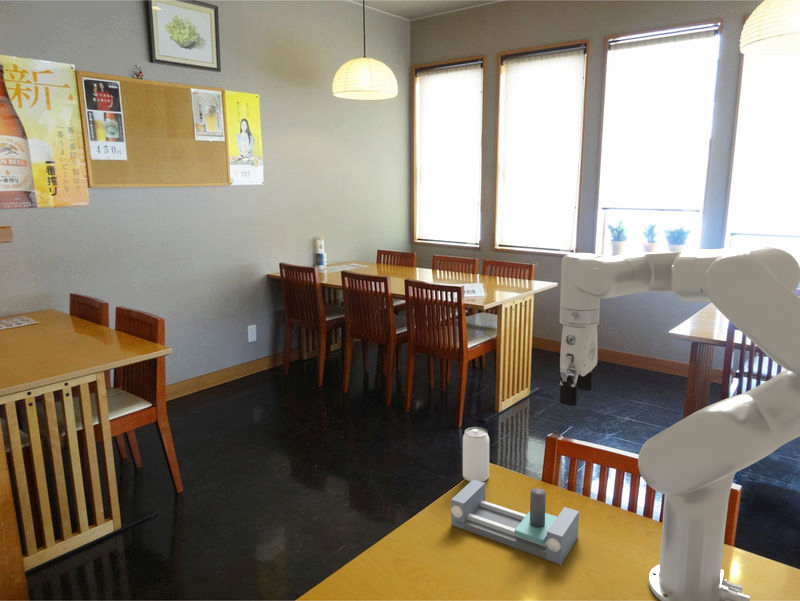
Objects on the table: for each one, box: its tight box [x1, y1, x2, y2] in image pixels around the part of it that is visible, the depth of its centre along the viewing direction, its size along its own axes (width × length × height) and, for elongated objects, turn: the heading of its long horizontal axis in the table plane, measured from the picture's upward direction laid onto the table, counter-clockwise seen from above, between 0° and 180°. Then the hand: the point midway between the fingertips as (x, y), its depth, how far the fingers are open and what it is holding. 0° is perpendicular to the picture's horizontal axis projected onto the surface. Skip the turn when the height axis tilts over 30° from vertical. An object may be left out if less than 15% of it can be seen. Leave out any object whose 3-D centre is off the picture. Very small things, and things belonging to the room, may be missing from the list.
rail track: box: [450, 479, 580, 566], centre depth 118 cm, size 24×10×6 cm, turn 55°
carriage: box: [514, 488, 558, 544], centre depth 114 cm, size 6×9×8 cm, turn 145°
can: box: [462, 426, 490, 483], centre depth 140 cm, size 6×6×12 cm
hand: (576, 396), depth 116 cm, fingers open, 9 cm apart
